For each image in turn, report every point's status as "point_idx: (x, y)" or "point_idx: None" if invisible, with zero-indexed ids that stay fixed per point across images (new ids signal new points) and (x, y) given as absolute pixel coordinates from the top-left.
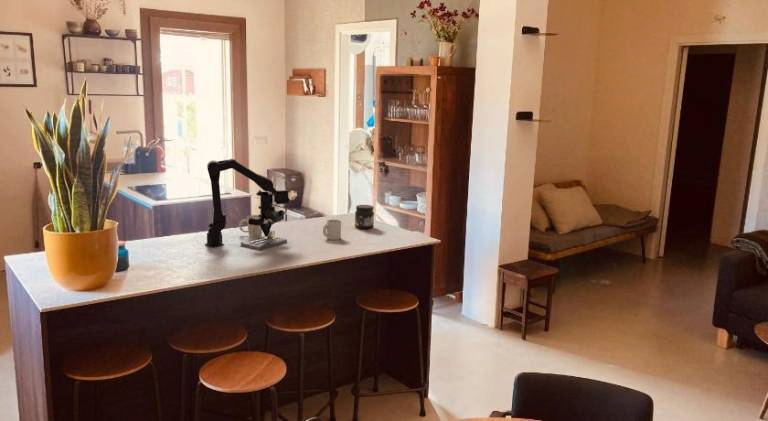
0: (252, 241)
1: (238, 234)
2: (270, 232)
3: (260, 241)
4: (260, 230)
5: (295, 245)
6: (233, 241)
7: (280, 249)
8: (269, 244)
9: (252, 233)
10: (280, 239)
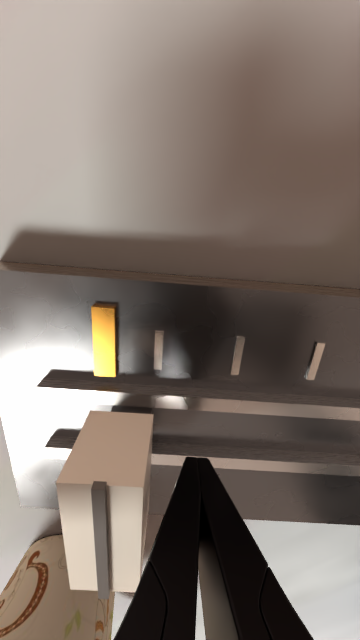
0: (303, 487)
1: (118, 628)
2: (144, 489)
3: (264, 440)
4: (36, 609)
5: (10, 39)
6: (280, 576)
7: (332, 94)
8: (326, 295)
9: (110, 599)
10: (42, 332)
